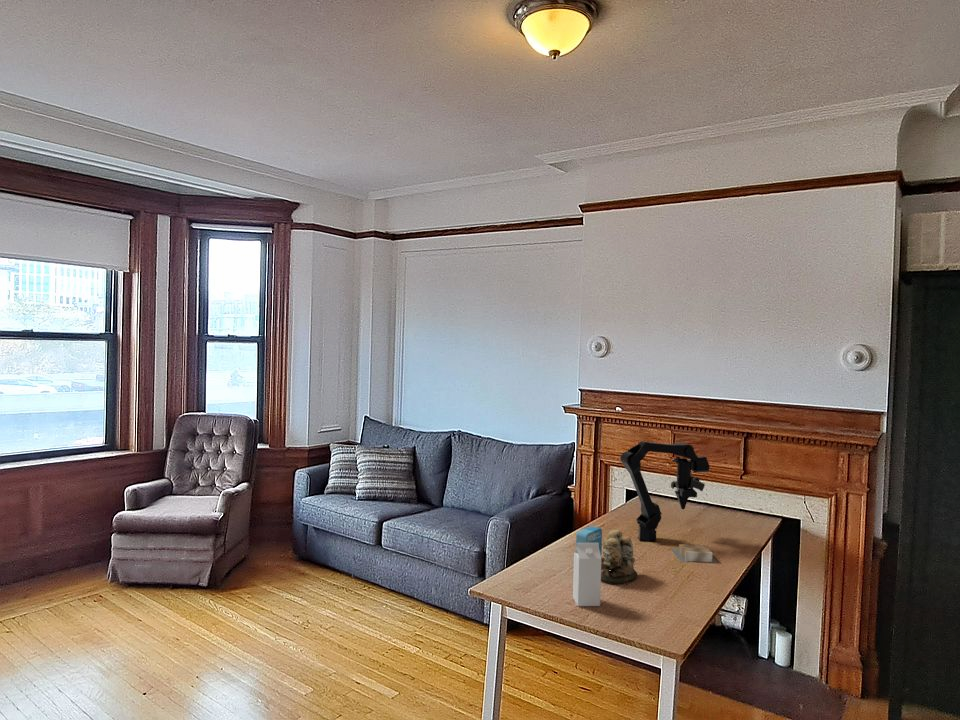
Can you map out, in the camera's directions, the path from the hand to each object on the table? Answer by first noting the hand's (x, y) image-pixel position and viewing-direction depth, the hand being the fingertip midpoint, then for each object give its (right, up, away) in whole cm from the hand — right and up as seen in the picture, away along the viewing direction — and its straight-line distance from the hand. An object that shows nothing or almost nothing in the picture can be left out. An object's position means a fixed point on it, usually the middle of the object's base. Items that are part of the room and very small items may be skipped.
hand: (682, 509), depth 274 cm
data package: (-45, -13, -30) cm, 56 cm away
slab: (-3, -11, -20) cm, 23 cm away
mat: (-3, -13, -23) cm, 27 cm away
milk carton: (-53, -14, -70) cm, 89 cm away
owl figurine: (-38, -14, -47) cm, 62 cm away
